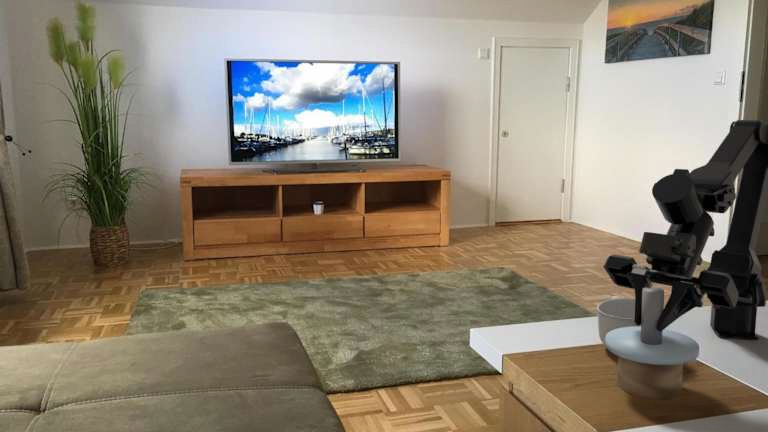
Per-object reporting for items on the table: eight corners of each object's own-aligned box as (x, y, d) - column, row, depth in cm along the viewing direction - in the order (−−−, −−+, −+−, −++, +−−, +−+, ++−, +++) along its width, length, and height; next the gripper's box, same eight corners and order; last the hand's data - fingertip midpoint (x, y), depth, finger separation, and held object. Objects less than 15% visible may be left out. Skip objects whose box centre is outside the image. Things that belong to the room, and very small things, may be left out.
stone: (674, 375, 100) (675, 345, 99) (687, 401, 92) (689, 368, 91) (614, 371, 102) (615, 342, 101) (621, 396, 94) (623, 364, 93)
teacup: (668, 364, 105) (671, 317, 103) (599, 360, 107) (601, 315, 106) (651, 334, 118) (653, 292, 117) (590, 331, 120) (591, 291, 119)
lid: (687, 334, 101) (690, 279, 99) (709, 367, 88) (713, 305, 87) (600, 330, 104) (602, 276, 102) (610, 362, 91) (612, 301, 90)
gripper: (611, 205, 102) (571, 286, 97) (736, 218, 88) (697, 313, 83) (634, 244, 108) (597, 322, 103) (753, 263, 94) (718, 354, 89)
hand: (647, 327), depth 94 cm, fingers closed on lid, 3 cm apart
